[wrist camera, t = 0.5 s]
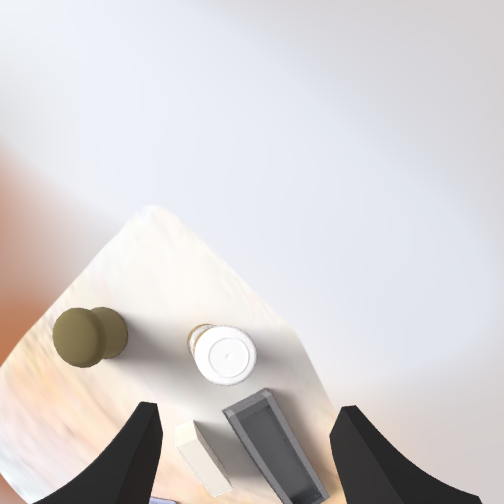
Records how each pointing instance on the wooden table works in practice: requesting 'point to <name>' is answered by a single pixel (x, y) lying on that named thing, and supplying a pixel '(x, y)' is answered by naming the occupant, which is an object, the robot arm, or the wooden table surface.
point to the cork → (89, 335)
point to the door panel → (201, 459)
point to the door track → (275, 449)
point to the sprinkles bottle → (222, 353)
